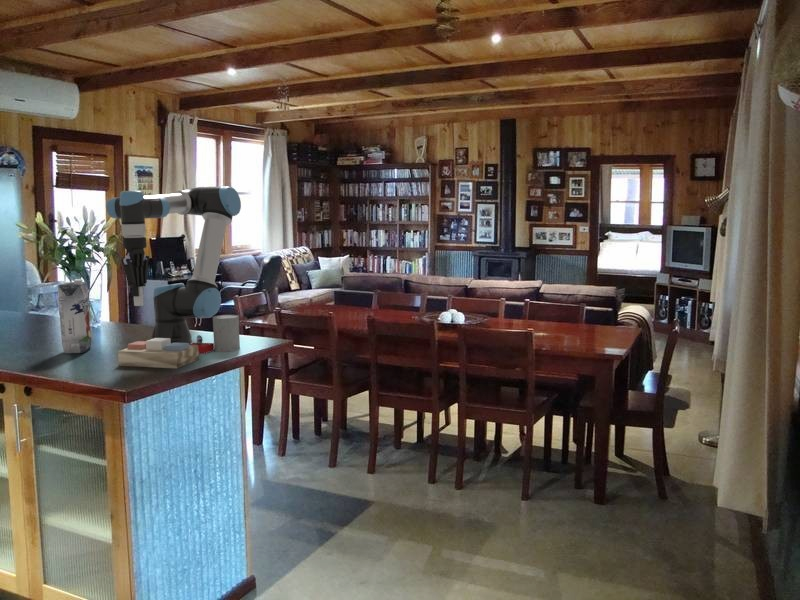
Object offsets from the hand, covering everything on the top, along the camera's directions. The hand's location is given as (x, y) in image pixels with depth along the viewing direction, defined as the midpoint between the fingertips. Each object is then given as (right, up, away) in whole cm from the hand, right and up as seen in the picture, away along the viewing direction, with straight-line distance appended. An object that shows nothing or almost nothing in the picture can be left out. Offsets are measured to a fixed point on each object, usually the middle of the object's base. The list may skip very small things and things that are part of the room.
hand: (138, 305), depth 242 cm
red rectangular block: (+16, -18, +19) cm, 30 cm away
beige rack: (+7, -20, 0) cm, 21 cm away
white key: (+7, -15, -1) cm, 16 cm away
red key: (0, -16, +1) cm, 16 cm away
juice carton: (-31, -18, +22) cm, 42 cm away
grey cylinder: (+25, -17, +22) cm, 37 cm away
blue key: (+14, -16, -2) cm, 21 cm away
